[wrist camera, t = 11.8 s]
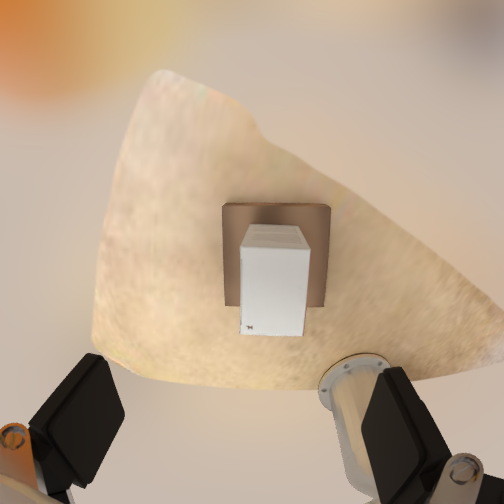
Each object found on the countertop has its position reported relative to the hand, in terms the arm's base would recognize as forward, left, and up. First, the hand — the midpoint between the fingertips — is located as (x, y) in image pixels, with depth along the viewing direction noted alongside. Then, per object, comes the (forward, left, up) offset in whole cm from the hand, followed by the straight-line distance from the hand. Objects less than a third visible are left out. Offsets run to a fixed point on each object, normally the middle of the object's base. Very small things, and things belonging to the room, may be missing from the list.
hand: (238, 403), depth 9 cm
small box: (-2, +2, -25) cm, 25 cm away
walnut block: (-2, +3, -29) cm, 29 cm away
